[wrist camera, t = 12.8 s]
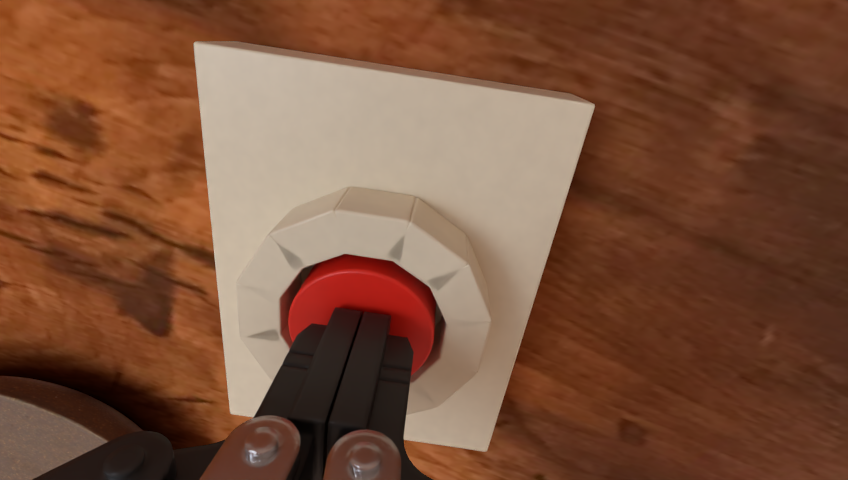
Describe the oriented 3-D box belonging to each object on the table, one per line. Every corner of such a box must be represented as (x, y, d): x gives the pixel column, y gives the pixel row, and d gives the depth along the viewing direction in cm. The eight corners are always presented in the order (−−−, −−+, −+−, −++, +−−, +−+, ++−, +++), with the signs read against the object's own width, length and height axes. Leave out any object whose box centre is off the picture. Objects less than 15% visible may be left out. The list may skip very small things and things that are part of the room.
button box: (234, 41, 12) (141, 41, 8) (572, 93, 12) (625, 116, 8) (253, 372, 18) (203, 457, 14) (483, 407, 18) (491, 499, 14)
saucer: (269, 489, 21) (245, 547, 19) (98, 562, 25) (61, 618, 23) (14, 282, 16) (-63, 325, 14) (-145, 416, 21) (-225, 467, 18)
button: (307, 229, 12) (286, 259, 10) (445, 250, 12) (445, 283, 10) (306, 338, 14) (287, 378, 12) (426, 356, 14) (423, 398, 12)
